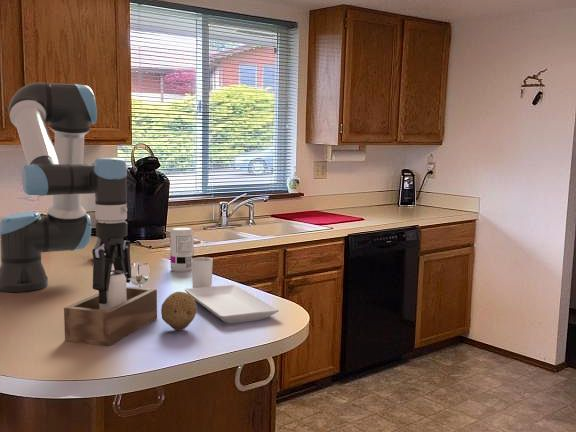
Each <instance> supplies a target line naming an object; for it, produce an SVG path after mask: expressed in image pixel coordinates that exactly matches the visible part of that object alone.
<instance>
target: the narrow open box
mask: <svg viewBox="0 0 576 432" xmlns="http://www.w3.org/2000/svg"><path fill="white" fill-rule="evenodd" d="M126 300H127V301H125V302H123V303H121V304H119V305H117V306H115V307H113V308H110V309H108V310H100V308H99V292H98V293H96V294H93V295H91V296H89V297H86V298H84V299H82V300H79V301H76V302H74V303H72V304H70V305H67V306H65V307H63V311H64V312H63V315H64V316H63V320H64V321H63V323H64V341H67V342H74V343H81V344H90V345H99V346H106V347H111V346H113V345H115V344H116V343H118V342H119V341H121V340H122V339H125V338H126V337H128V336H129V335H131V334H133V333H136V332H137V331H138V330H140V329H142V328H143V327H146V326H147V325H149V324H150V323H152V322H154V321H155V320H157V319H158V291H157V289H156V288H146V287H141V288H138V287H137V286H127V285H126Z"/></svg>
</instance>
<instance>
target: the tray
mask: <svg viewBox="0 0 576 432" xmlns="http://www.w3.org/2000/svg"><path fill="white" fill-rule="evenodd" d="M184 291H185V293H187V294H189V295H190V296H191V297H192V298H193V299H194V300H195V302H197V303H199V304H200V305H201V306H203V307H205V309H207V310H208V311H210V312H211V313H212V314H213V315H215V316H216V317H218V319H220V320H221V321H223V322H224V323H225V324H236V323H242V322H243V323H245V322H251V321H252V322H253V321H261V320H264V319H265V318H268V317H271V316H273V315H275V314H277V313H278V312H279V308H278V307H275V306H273V305H271V304H269V303H267V302H266V301H265V300H262V299H261V298H259V297H257V296H255V295H254V294H253V293H251V292H248V291H247V290H245V289H243V288H242V287H241V286H239V285H236V284H228V285H216V286H213V285H212V287H202V288H193V287H191V288H185V289H184Z"/></svg>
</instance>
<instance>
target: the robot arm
mask: <svg viewBox="0 0 576 432" xmlns="http://www.w3.org/2000/svg"><path fill="white" fill-rule="evenodd" d="M8 116H9V120H10V122H11V124H12V125H13V126H14V127H15V128H16V130H17V133H18V138H19V140H20V143H21V147H22V150H23V154H24V157H25V161H26V164H27V165H26V164H25V165H24V166H23V167H22V172H21V176H22V177H21V181H22V183H21V184H22V189H23V192H24V194H26V195H28V196H41V197H43V196H52V204H51V206H49V207H48V209H47V215H41V214H40V212H39V211H35V210H34V211H23V212H17V213H12V214H9V215H5V216H3V217H2V218H1V219H0V259H1V260H0V262H1V264H0V292H5V293H24V292H32V291H37V290H40V289H45V288H46V287H48V285H49V278H48V276H47V273H46V271H45V267H44V265H43V263H42V253H51V252H53V253H54V252H65V251H67V252H68V251H71V252H72V251H76V250H83V249H85V248H86V247H87V246H88V244H90V240H91V235H92V221H91V220H92V219H91V216H90V214H88V213H87V210H86V209H85V208H84V207H83V206H82V202H83V201H82V199H83V195H85V194H86V195H88V194H89V195H90V194H94V197H95V199H94V200H95V201H94V202H95V203H94V205H95V206H94V207H95V208H94V209H95V211H94V213H95V215H94V220H98V222H97V221H96V223H95V236H96V238H97V239H98V238H100V245H99V248H98V249H94V248H92V250H91V254H92V258H93V260H92V261H93V263H92V264H93V265H92V266H93V267H92V289H93V290H94V291H98V293H99V308H100V310H108V309H110V308H111V290H108V287H109V281H110V275H111V270H120V271H124V275H125V277H126V284H130V283H131V281H130V278H131V264H132V263H131V251H130V250H131V241H130V240H124V238H125V237H127V236H128V222H127V221H126V220H127V219H128V207H127V204H128V200H127V199H128V196H127V195H128V192H127V190H128V188H127V187H128V186H127V185H128V183H127V182H128V178H127V176H128V171H127V162H126V160H125V159H124V158H122V157H97V158H96V159H95V160H94V162H93V163H84V155H85V154H84V153H85V152H84V151H85V135H87V134H88V133H90V131H91V125H95V124H97V122H98V121H97V120H98V107H97V102H96V97H95V94H94V92H93V90H92V88H91V87H90V86H88V85H85V84H84V85H83V84H77V83H60V82H59V83H56V82H42V81H41V82H39V81H38V82H32V83H29V84H26V85H25V86H23V87H20V88H19V89H18V90H17V91H16V92H15V93H14V95H13V96H12V97H11V99H10V101H9V105H8ZM47 124H49V129H50V130H51V131H52V132H53V133H54V144H53V140H52V137H51V135H50V132H49V129H48V126H47ZM112 267H113V269H112Z"/></svg>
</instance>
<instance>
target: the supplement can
mask: <svg viewBox="0 0 576 432" xmlns="http://www.w3.org/2000/svg"><path fill="white" fill-rule="evenodd" d="M169 236H170V237H169V239H170V242H169V244H170V247H169V248H170V249H169V250H170V269H171V270H172V272H176V273H185V272H186V273H187V272H190V271H191V272H192V264H191V259H193V258H195V254H194V253H195V250H194V247H195V246H194V245H195V244H194V241H195V240H194V239H195V238H194V236H195V235H194V231H193V228H191V227H187V226H186V227H184V226H182V227H181V226H179V227H173V228H171V231H170V235H169Z"/></svg>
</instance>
